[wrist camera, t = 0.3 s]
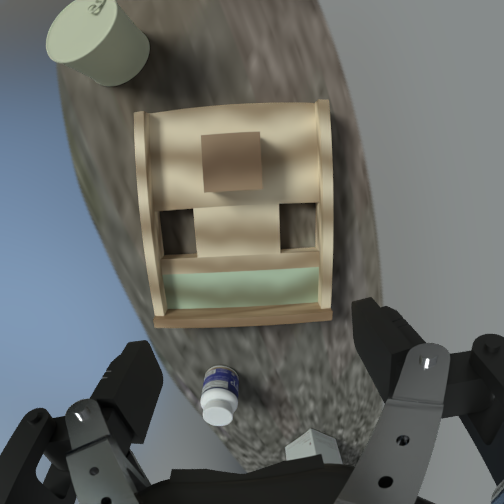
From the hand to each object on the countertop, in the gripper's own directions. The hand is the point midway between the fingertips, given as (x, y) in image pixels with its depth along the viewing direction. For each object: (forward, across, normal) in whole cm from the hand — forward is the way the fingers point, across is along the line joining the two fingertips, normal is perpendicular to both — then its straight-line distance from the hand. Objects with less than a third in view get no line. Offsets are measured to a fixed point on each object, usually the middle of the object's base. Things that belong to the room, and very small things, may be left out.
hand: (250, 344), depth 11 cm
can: (+28, +12, -26) cm, 40 cm away
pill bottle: (+27, +9, +23) cm, 37 cm away
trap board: (+27, +1, -1) cm, 27 cm away
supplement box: (+27, -3, +44) cm, 52 cm away
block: (+25, 0, -7) cm, 26 cm away
